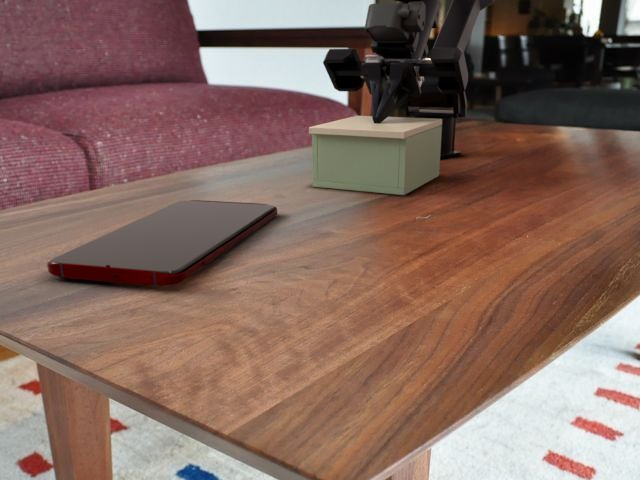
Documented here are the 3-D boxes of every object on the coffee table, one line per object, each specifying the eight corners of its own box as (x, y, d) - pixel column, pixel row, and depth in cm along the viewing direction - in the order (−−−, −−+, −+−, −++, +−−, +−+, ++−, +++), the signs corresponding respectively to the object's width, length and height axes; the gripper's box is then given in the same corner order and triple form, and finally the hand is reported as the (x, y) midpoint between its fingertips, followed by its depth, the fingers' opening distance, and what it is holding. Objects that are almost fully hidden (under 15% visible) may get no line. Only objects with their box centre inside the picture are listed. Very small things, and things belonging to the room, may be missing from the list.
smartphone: (282, 203, 73) (177, 272, 50) (282, 217, 73) (178, 292, 51) (179, 197, 76) (37, 261, 53) (180, 211, 76) (40, 279, 54)
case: (404, 195, 81) (406, 138, 79) (312, 186, 87) (311, 133, 84) (439, 176, 92) (442, 125, 90) (356, 169, 98) (356, 121, 96)
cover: (403, 138, 78) (404, 131, 78) (308, 133, 84) (308, 127, 83) (442, 125, 90) (442, 118, 90) (356, 121, 96) (356, 115, 95)
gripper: (329, -17, 88) (289, 76, 83) (468, -25, 80) (434, 77, 75) (353, 46, 98) (319, 133, 93) (480, 45, 89) (450, 140, 84)
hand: (375, 121), depth 86 cm, fingers closed, pressing on cover
